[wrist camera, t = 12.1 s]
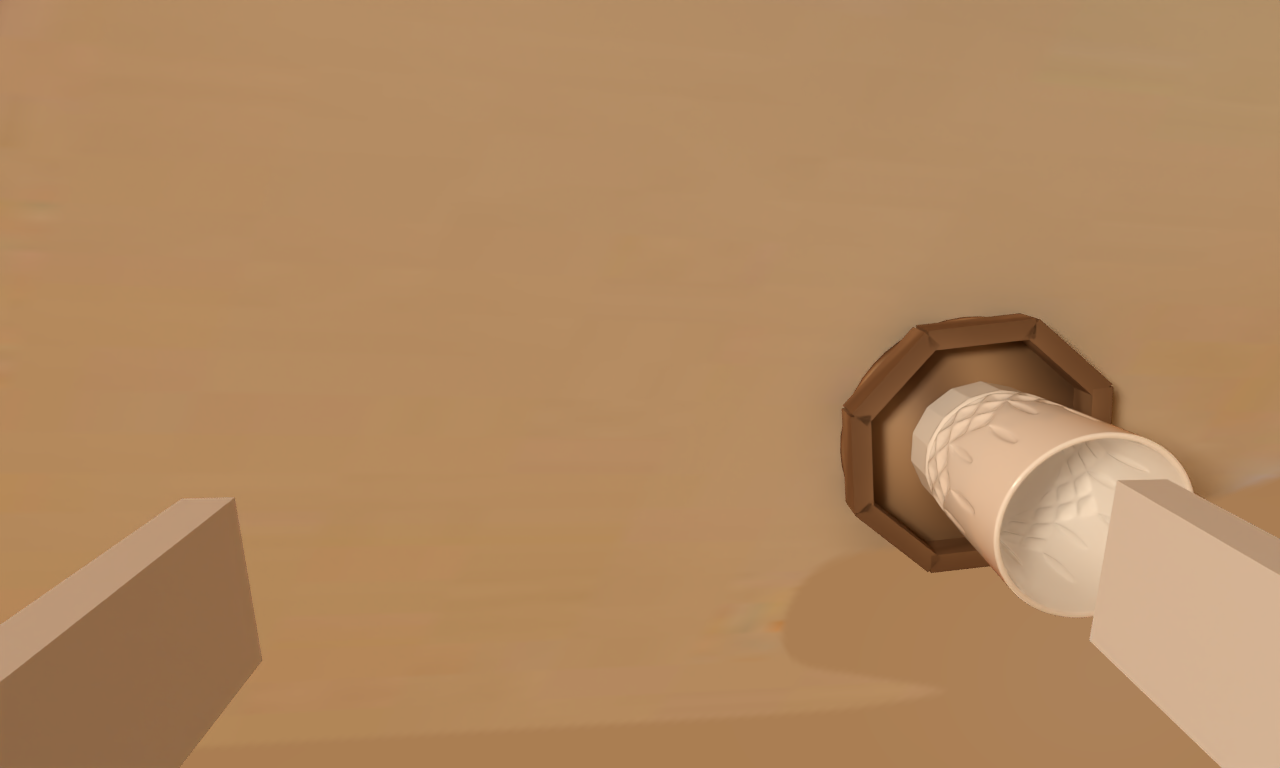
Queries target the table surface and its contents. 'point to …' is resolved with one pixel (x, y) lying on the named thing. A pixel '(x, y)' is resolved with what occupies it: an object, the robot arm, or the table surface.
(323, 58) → the table surface
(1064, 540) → the white cup
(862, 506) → the coaster ring
